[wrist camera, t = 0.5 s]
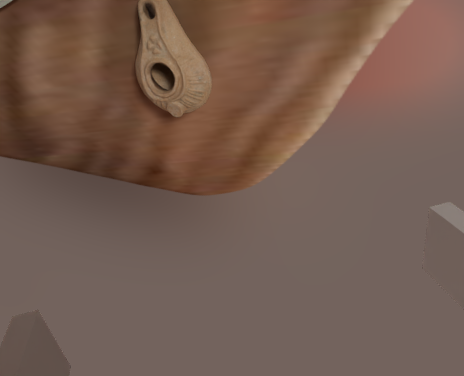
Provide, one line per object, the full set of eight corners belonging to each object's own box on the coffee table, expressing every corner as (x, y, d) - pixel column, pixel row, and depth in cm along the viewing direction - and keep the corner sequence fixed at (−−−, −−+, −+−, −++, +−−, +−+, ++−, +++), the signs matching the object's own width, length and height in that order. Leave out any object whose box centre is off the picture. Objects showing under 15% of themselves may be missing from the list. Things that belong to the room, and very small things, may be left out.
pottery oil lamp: (197, -24, 36) (195, 17, 32) (217, 77, 46) (218, 118, 42) (110, -10, 37) (97, 32, 33) (148, 86, 47) (142, 127, 43)
